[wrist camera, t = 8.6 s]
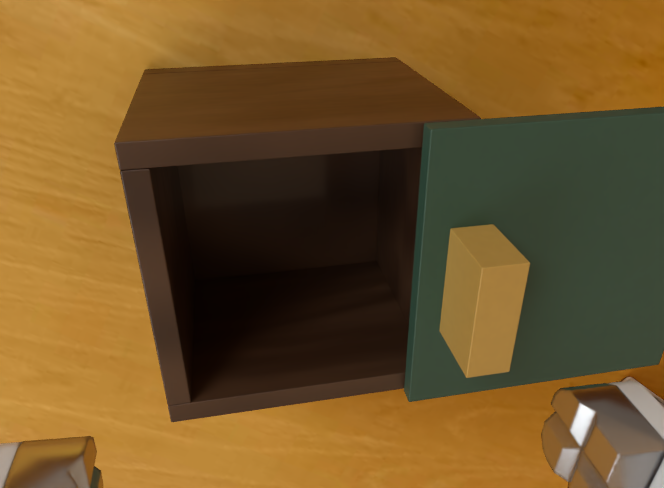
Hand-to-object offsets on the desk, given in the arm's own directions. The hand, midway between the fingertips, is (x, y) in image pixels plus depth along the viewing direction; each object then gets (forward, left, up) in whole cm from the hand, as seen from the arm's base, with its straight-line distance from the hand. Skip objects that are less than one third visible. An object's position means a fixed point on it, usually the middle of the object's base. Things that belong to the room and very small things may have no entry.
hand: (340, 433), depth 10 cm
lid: (+5, +12, -12) cm, 18 cm away
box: (+5, +1, -23) cm, 24 cm away
